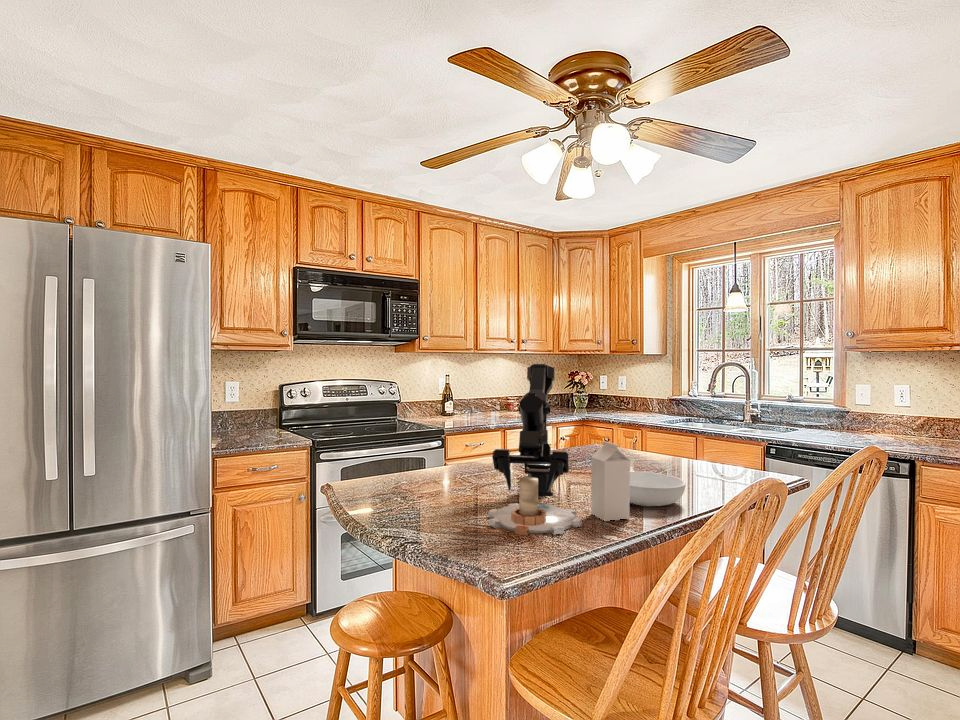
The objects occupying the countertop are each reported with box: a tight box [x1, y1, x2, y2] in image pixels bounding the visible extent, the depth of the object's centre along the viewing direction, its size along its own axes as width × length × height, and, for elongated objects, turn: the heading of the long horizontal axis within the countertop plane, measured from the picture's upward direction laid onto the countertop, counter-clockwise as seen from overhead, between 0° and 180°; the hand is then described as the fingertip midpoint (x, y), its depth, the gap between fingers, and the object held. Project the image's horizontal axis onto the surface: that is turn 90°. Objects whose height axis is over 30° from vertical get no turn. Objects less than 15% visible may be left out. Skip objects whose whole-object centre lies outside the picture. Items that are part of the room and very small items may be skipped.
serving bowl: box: [630, 471, 687, 507], centre depth 154 cm, size 21×21×7 cm
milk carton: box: [590, 440, 631, 522], centre depth 139 cm, size 7×7×19 cm
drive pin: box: [518, 476, 539, 516], centre depth 131 cm, size 4×4×10 cm
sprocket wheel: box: [487, 502, 583, 536], centre depth 136 cm, size 23×23×4 cm
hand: (528, 490), depth 130 cm, fingers open, 9 cm apart
